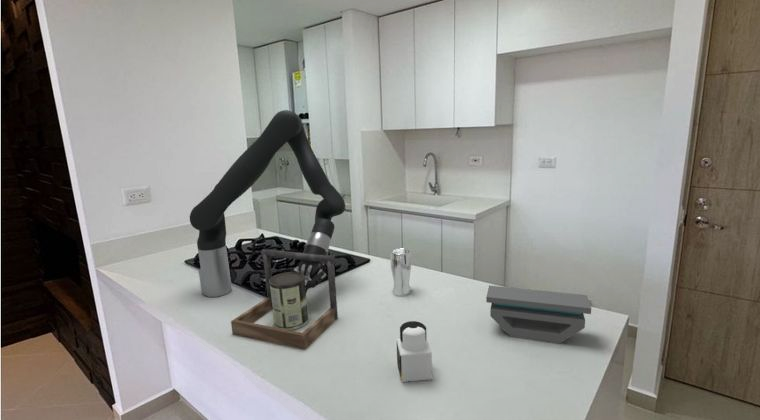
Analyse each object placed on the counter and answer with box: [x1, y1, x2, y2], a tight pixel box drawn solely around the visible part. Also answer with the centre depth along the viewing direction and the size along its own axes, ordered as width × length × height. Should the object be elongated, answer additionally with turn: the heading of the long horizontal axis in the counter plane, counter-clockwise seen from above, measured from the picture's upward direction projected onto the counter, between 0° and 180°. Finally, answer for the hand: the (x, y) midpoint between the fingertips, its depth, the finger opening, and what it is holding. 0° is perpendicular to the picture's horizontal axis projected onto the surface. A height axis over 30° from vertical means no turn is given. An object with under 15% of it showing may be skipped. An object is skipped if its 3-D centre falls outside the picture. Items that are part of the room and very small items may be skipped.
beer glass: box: [390, 247, 412, 297], centre depth 134 cm, size 7×7×15 cm
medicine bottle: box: [396, 320, 433, 383], centre depth 91 cm, size 7×7×12 cm
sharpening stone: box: [485, 285, 592, 345], centre depth 105 cm, size 25×8×11 cm, turn 70°
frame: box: [230, 248, 339, 350], centre depth 114 cm, size 18×25×20 cm
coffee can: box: [269, 271, 309, 331], centre depth 117 cm, size 10×10×14 cm
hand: (299, 298), depth 122 cm, fingers closed
